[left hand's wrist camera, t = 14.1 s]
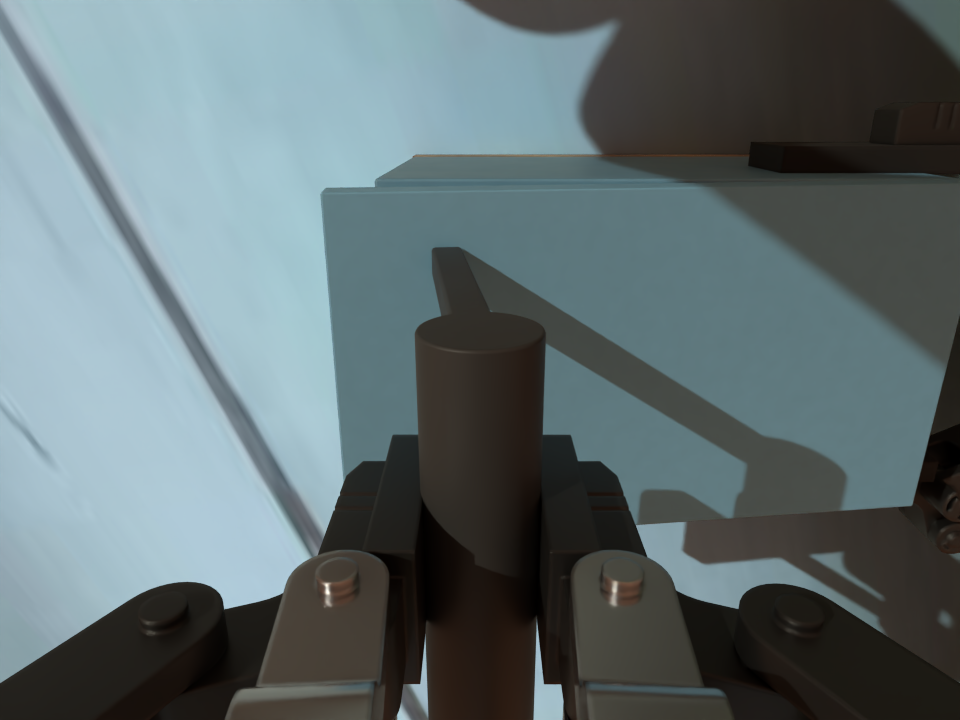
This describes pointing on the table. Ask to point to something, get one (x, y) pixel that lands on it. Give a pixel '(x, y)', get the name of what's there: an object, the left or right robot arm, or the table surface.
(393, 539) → the left robot arm
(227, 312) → the table surface
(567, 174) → the chest
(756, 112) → the table surface
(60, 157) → the table surface
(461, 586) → the lid
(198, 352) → the table surface
